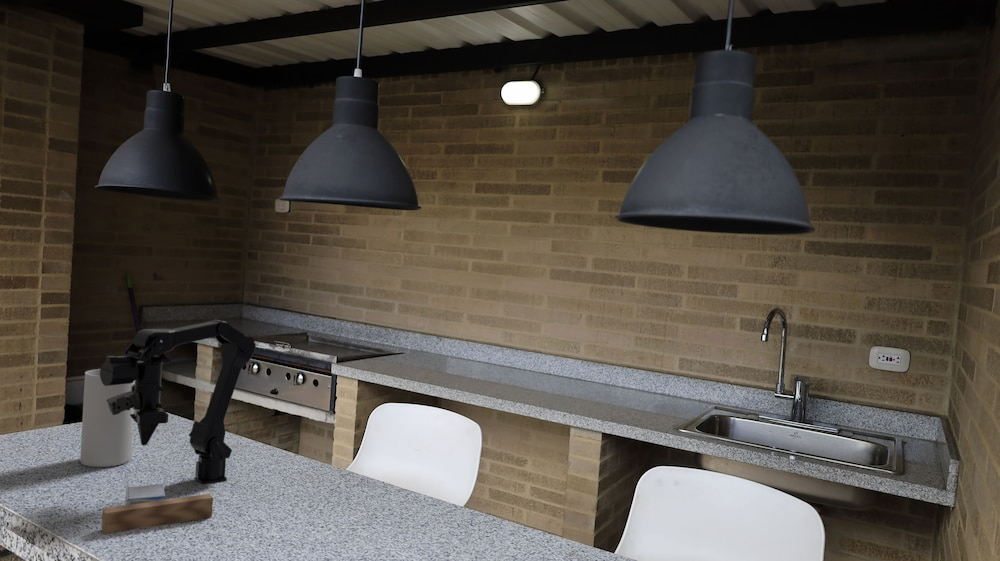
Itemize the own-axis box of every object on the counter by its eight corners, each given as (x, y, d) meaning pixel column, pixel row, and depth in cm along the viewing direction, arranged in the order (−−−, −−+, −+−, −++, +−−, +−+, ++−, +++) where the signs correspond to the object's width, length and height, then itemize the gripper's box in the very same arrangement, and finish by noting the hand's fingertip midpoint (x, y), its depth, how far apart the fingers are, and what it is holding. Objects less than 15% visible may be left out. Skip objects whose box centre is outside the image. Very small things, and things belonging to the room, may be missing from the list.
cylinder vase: (134, 465, 193) (139, 375, 193) (81, 470, 186) (87, 377, 186) (128, 452, 204) (133, 367, 203) (78, 457, 197) (83, 369, 196)
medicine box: (125, 504, 165) (125, 518, 158) (126, 486, 165) (126, 498, 158) (162, 501, 169) (164, 514, 162) (163, 483, 169) (165, 495, 161)
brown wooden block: (208, 512, 165) (209, 493, 164) (211, 516, 162) (213, 497, 162) (101, 529, 151) (102, 508, 151) (103, 534, 149) (105, 513, 149)
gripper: (104, 375, 173) (100, 438, 174) (117, 390, 158) (113, 458, 159) (153, 374, 180) (149, 434, 180) (170, 388, 165) (166, 453, 166)
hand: (143, 444), depth 171 cm, fingers closed
